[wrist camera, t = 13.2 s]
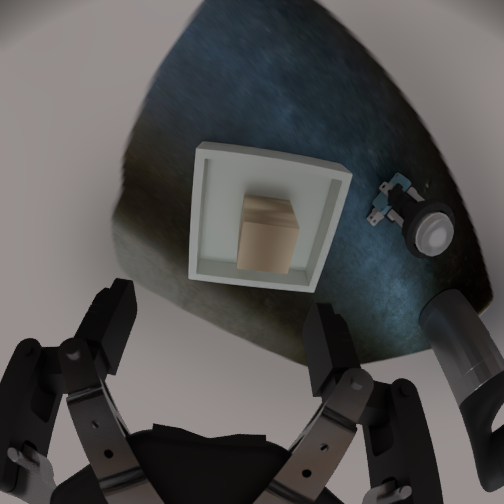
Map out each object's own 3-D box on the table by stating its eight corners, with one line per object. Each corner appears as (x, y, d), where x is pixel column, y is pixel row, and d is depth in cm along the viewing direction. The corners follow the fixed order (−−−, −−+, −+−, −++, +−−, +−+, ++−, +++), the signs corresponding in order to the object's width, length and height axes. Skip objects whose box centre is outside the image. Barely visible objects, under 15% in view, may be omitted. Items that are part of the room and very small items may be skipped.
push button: (380, 230, 30) (420, 284, 21) (350, 204, 28) (389, 256, 20) (416, 189, 27) (468, 232, 18) (389, 159, 25) (444, 195, 17)
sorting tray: (340, 163, 26) (352, 174, 23) (308, 273, 33) (313, 292, 30) (202, 141, 24) (196, 148, 21) (193, 260, 31) (188, 278, 29)
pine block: (289, 200, 27) (299, 229, 22) (280, 239, 29) (287, 274, 24) (244, 193, 26) (243, 221, 21) (238, 233, 29) (236, 268, 24)
